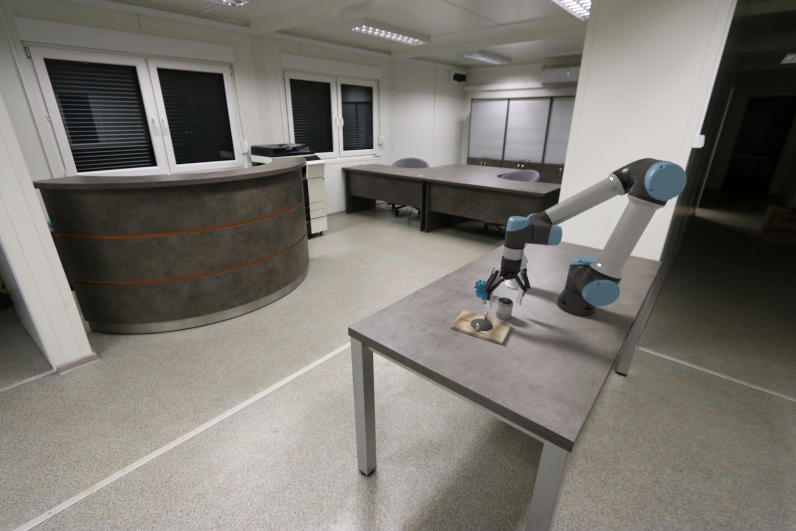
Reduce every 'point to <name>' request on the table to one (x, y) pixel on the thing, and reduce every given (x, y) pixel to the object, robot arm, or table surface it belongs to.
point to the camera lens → (504, 308)
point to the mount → (493, 335)
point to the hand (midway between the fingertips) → (503, 305)
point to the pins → (479, 324)
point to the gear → (480, 289)
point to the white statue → (513, 283)
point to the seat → (482, 324)
